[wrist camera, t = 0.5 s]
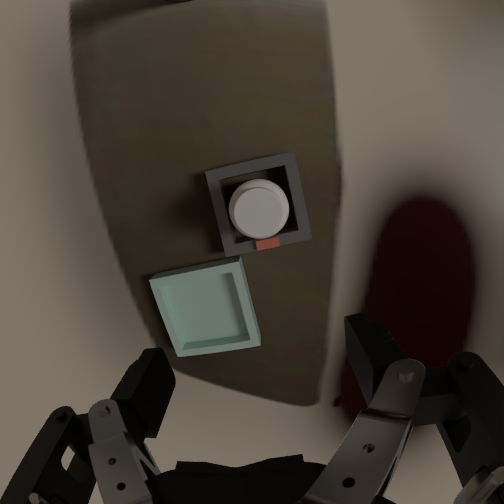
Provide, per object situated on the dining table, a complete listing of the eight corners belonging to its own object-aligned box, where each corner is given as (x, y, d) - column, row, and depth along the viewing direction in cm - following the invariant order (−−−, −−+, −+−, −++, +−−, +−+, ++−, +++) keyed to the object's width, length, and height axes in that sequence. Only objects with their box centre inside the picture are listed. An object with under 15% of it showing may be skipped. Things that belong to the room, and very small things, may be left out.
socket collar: (209, 172, 31) (204, 171, 28) (291, 153, 30) (294, 151, 27) (228, 251, 33) (225, 258, 30) (308, 234, 32) (312, 239, 29)
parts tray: (155, 273, 34) (148, 280, 32) (240, 255, 33) (238, 261, 31) (182, 347, 37) (178, 356, 35) (260, 335, 36) (260, 345, 34)
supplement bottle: (235, 226, 32) (225, 246, 23) (235, 179, 31) (223, 179, 22) (283, 226, 32) (291, 246, 23) (283, 179, 31) (292, 179, 22)
